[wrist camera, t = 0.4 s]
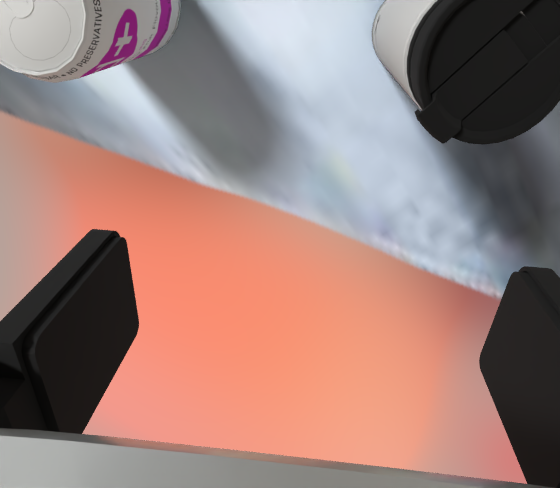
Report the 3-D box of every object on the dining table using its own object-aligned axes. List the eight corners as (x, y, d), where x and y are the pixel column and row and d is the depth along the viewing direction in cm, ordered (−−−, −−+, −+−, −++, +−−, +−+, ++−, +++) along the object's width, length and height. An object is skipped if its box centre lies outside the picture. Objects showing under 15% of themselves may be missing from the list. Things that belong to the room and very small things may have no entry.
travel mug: (351, 35, 34) (378, 76, 17) (419, -38, 31) (534, -76, 14) (402, 92, 36) (473, 183, 19) (471, 28, 33) (628, 66, 16)
